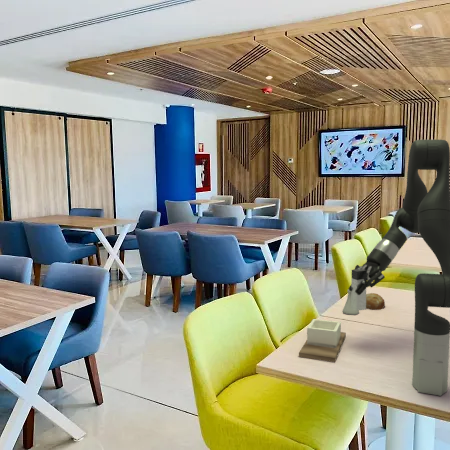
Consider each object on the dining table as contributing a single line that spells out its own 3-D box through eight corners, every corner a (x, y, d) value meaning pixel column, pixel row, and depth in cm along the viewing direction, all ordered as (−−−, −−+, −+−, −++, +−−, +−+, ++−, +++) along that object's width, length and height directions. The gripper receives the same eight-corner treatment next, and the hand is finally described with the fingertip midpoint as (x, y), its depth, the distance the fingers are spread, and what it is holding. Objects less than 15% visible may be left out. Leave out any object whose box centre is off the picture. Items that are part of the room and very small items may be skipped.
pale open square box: (336, 348, 154) (336, 331, 154) (307, 344, 158) (307, 327, 158) (340, 337, 164) (340, 322, 163) (313, 334, 167) (313, 318, 167)
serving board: (334, 362, 147) (335, 357, 147) (298, 356, 152) (298, 352, 151) (345, 336, 169) (345, 332, 169) (313, 332, 174) (313, 328, 173)
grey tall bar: (365, 309, 158) (366, 270, 156) (356, 310, 156) (357, 271, 155) (360, 307, 161) (361, 268, 159) (351, 308, 159) (351, 269, 157)
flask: (340, 314, 195) (340, 291, 193) (344, 309, 201) (344, 287, 200) (357, 316, 191) (358, 293, 190) (361, 311, 198) (361, 289, 196)
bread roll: (359, 312, 208) (354, 297, 205) (375, 300, 211) (370, 286, 209) (375, 318, 199) (369, 303, 196) (391, 305, 202) (386, 291, 200)
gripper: (363, 244, 165) (335, 281, 162) (391, 251, 152) (360, 290, 149) (375, 257, 168) (347, 293, 165) (402, 265, 155) (373, 304, 152)
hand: (353, 292), depth 157 cm, fingers closed on grey tall bar, 3 cm apart
